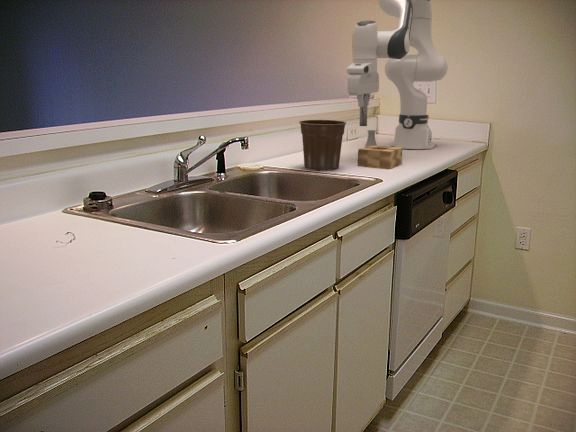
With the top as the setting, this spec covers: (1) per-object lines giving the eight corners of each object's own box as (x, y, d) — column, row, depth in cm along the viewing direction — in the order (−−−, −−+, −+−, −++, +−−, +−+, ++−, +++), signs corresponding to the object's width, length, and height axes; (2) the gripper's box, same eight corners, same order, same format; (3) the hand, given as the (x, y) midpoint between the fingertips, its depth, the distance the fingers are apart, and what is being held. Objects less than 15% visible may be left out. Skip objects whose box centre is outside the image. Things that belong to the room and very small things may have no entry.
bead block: (371, 161, 214) (371, 145, 212) (401, 163, 208) (402, 147, 206) (357, 165, 204) (358, 149, 202) (389, 168, 198) (389, 151, 196)
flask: (379, 157, 223) (380, 131, 221) (360, 156, 225) (361, 131, 222) (380, 154, 230) (381, 129, 228) (362, 154, 232) (363, 129, 229)
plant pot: (353, 166, 202) (354, 121, 198) (330, 173, 189) (331, 124, 185) (314, 162, 211) (315, 118, 207) (290, 169, 198) (290, 122, 194)
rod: (361, 125, 215) (362, 87, 211) (368, 125, 213) (369, 87, 209) (358, 125, 212) (359, 87, 209) (365, 126, 211) (366, 87, 207)
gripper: (368, 66, 217) (367, 103, 221) (344, 68, 200) (343, 108, 204) (384, 67, 214) (382, 104, 218) (360, 68, 197) (359, 109, 201)
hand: (363, 106), depth 211 cm, fingers closed on rod, 3 cm apart
